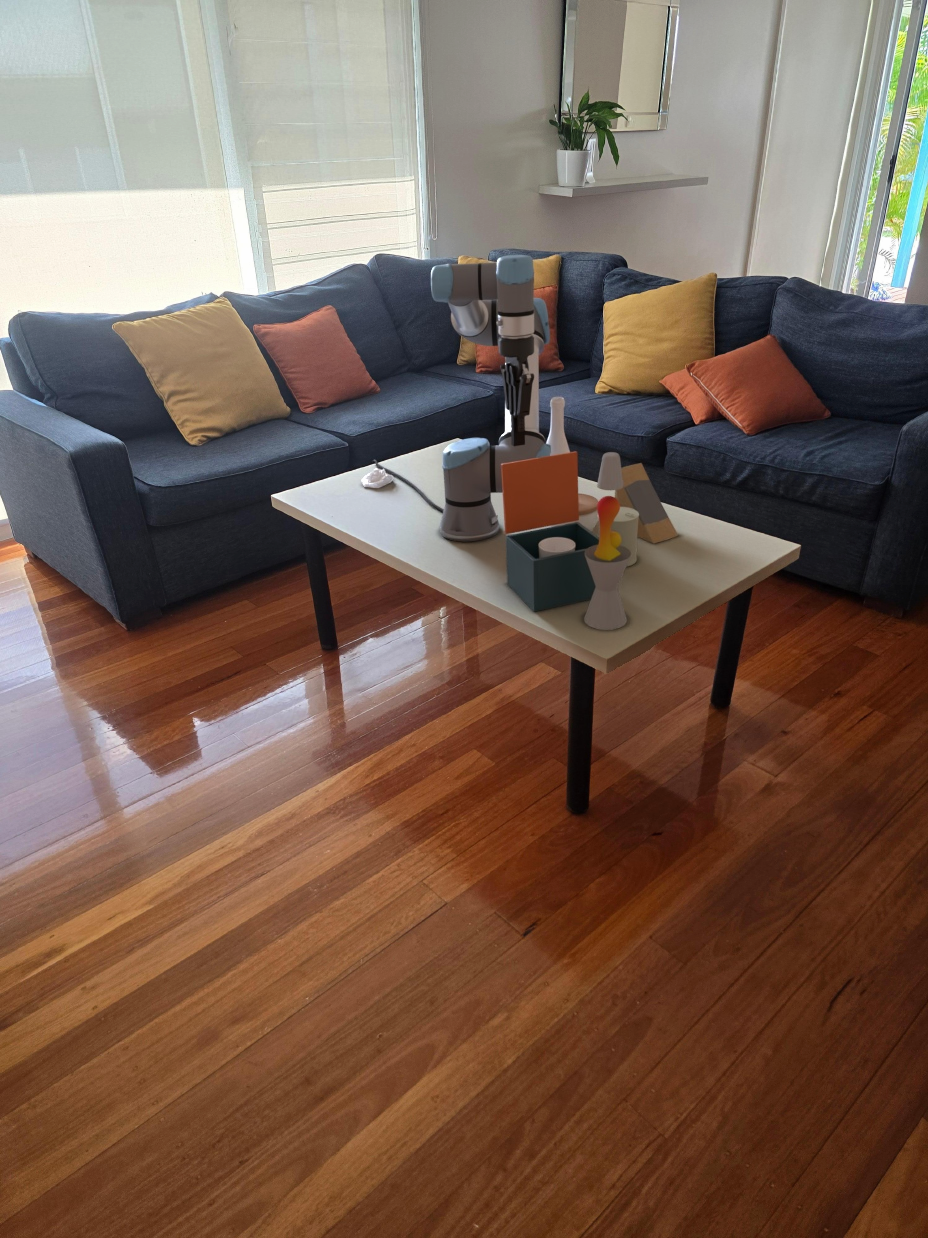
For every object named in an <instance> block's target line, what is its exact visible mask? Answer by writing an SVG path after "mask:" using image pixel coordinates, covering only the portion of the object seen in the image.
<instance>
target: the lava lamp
mask: <svg viewBox="0 0 928 1238" xmlns="http://www.w3.org/2000/svg"><path fill="white" fill-rule="evenodd" d="M621 468H622V464H621V456H620V454H619V453H617V452H614V451H609V452H605V453H604V454H603V455H602V458H601V464H600V469H599V473H598V479H597V484H596V487H597V488H598V489H600V490H602V491H615V490H618V489H621V488H622V487H623V479H622V470H621ZM619 510H620V504H619V502H618V500H617V499H616V498H615V496H613V495H606V496H603V497H601V498H600V499H599V500H598V504H597V511H598V524H599V523H600V538H599V544H598V545H594V546H591V547H589V548H587V549H586V550H585V557H586V560H587V563H588V566H589V569H590V571H591V574H592V577H593V580H594V583H595V586H596V587H595V590H594V593H593V596H592V598H591V599H590V601H589V604H588V606H587V610H586V612H585V614H584V617H583V621H584V623H585V624H586V625H587V626H588V627H590V628H593V629H596V630H602V631H612V630H617V629H620V628H622V627H624V626H625V625H626V624H627V621H628V618H627V616H626V612H625V608H624V605H623V601H622V598H621V595H620V591H619V588H618V587H619V585H620V582H621V580H622V577H623V576H624V573H625V570H626V568H627V567H628V566H627V564H628V561H629V559H630V556H631V552H630V550H629V549H627V548H626V547H623V546H621V545H620V544H621V536H620V534H619V533H617V532H615V531H611V526H612V523H613V521H614V519H615V517H616V516H617V514H618V512H619ZM626 566H627V567H626Z"/></svg>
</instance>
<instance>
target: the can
mask: <svg viewBox="0 0 928 1238" xmlns="http://www.w3.org/2000/svg"><path fill="white" fill-rule="evenodd" d="M638 518H639V513H638V512H637V511H636V510H634V509H632V508H628V507H620V510H619V512H618V514H617V516H616V517H615V519H614V521H613V523H612V526H611V531H615V532H617V533H619V534H620V536H621V544H620V545H621V546H623V547H626V548H627V549H629V550H630V552H631V556H630V559H629V561H628V564H627V566H626V568H628V567H630V566H633V565H634V564H635V563H636V562H637V561H638V558H637V550H638V549H637V548H638V547H637V546H638V536H637V531H638ZM597 536H598V537H599V538H600V523H599V522H598V535H597Z"/></svg>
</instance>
